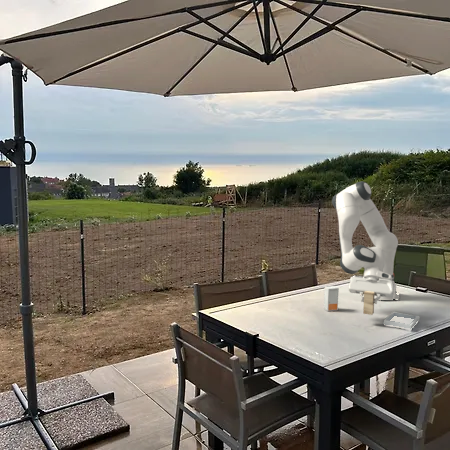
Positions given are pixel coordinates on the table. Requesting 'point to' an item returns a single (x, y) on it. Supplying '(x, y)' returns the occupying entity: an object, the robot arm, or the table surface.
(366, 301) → the birch block
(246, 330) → the table surface
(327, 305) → the skincare box
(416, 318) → the tray
